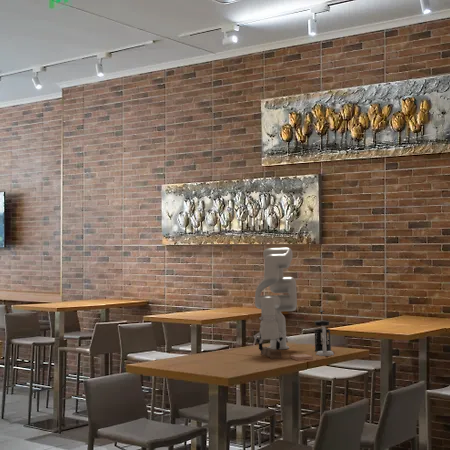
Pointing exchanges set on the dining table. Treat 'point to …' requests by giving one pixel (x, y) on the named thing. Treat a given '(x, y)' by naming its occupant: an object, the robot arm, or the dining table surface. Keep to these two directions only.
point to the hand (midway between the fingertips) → (269, 350)
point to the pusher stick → (271, 353)
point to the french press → (318, 332)
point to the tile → (301, 357)
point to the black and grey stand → (324, 346)
